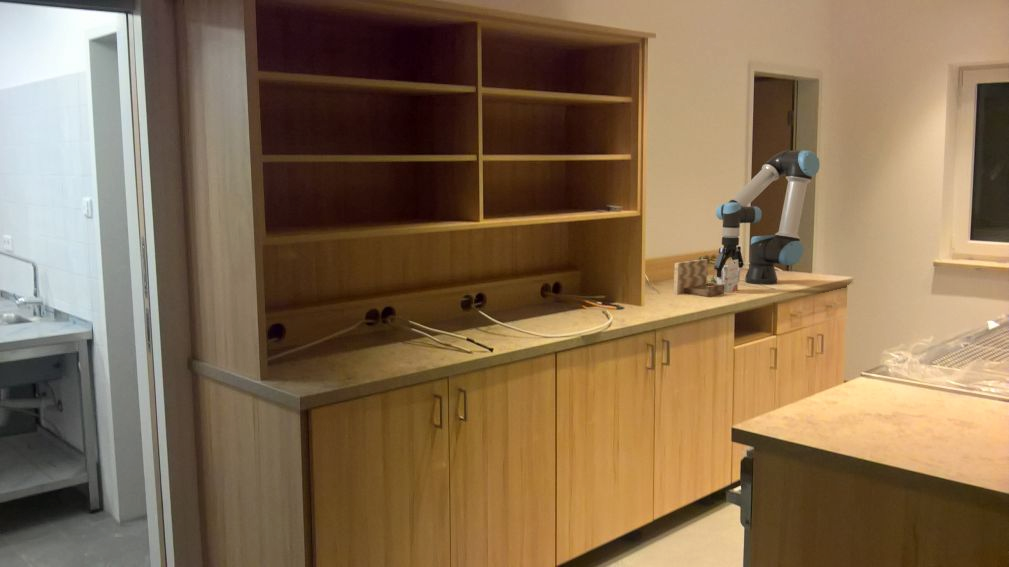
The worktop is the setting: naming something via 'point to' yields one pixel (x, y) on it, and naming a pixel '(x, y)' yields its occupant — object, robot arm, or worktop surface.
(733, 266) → the ink cartridge box
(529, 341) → the worktop surface
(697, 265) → the brown wooden bookend
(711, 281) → the yellow and green bunch
